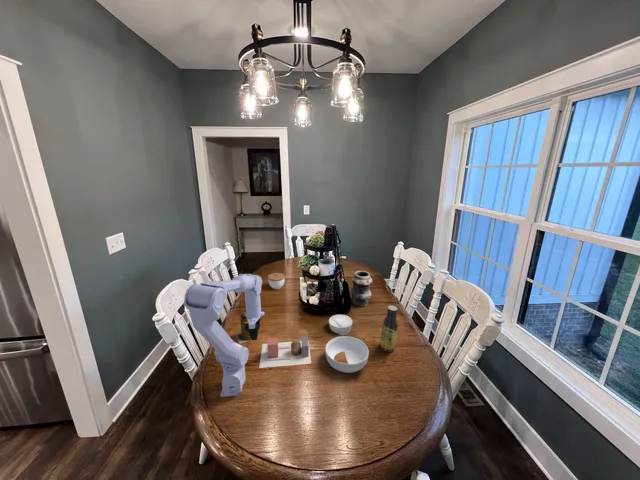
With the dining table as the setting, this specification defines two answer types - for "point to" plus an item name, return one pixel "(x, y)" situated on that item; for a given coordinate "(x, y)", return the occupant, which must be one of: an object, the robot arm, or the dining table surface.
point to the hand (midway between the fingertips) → (255, 333)
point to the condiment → (243, 330)
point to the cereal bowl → (347, 353)
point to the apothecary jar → (361, 288)
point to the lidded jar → (276, 280)
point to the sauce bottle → (389, 330)
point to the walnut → (295, 348)
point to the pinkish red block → (272, 347)
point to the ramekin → (340, 324)
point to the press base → (286, 355)
